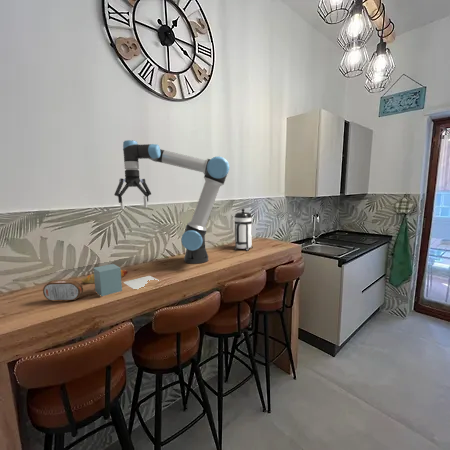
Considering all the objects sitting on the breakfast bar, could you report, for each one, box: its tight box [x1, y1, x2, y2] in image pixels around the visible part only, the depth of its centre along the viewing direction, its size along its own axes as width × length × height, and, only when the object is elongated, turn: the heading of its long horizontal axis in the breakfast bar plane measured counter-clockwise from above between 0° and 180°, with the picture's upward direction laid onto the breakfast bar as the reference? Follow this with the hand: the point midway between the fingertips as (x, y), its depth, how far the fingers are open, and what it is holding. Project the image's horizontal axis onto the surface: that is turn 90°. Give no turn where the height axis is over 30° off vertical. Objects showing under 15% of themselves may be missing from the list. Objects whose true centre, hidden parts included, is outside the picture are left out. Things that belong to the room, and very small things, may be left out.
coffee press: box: [233, 208, 253, 252], centre depth 191 cm, size 17×16×30 cm
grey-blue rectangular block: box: [93, 263, 123, 297], centre depth 116 cm, size 9×9×11 cm
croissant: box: [81, 269, 128, 284], centre depth 132 cm, size 21×10×8 cm, turn 123°
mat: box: [122, 275, 159, 290], centre depth 127 cm, size 14×14×1 cm
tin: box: [42, 279, 84, 301], centre depth 108 cm, size 15×3×8 cm, turn 92°
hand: (134, 208), depth 148 cm, fingers open, 13 cm apart
